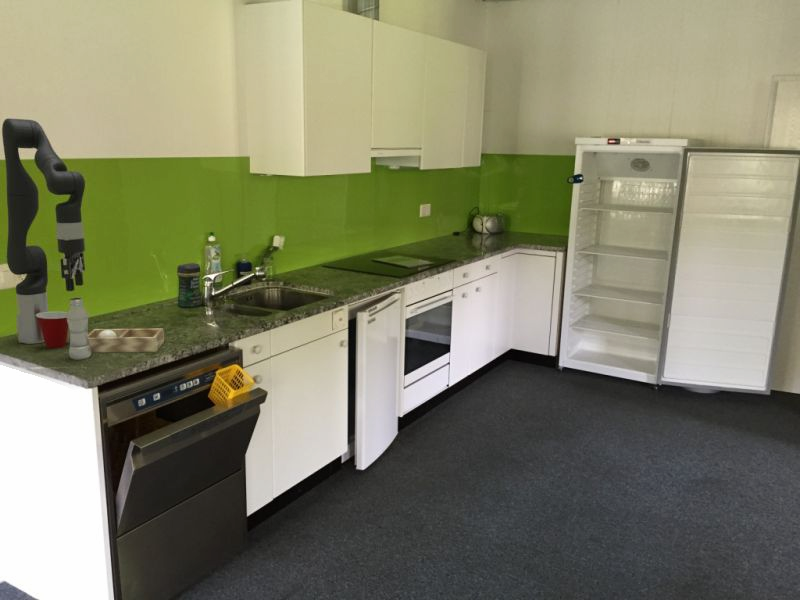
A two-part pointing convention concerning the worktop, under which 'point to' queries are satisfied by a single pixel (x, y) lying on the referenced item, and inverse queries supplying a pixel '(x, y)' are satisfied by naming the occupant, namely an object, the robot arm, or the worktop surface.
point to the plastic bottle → (78, 330)
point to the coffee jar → (189, 285)
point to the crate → (127, 340)
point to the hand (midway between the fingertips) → (75, 288)
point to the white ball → (107, 334)
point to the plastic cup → (53, 328)
